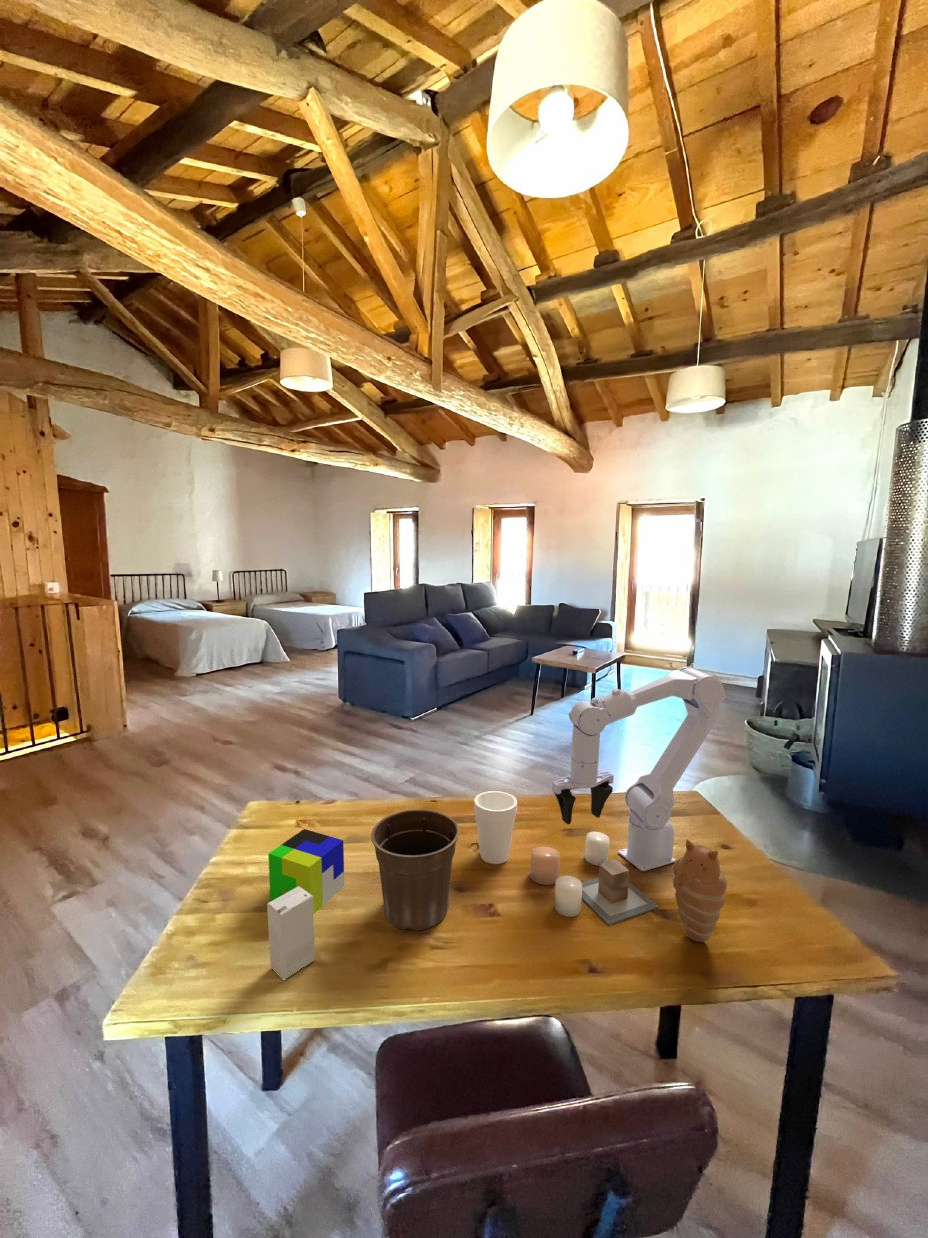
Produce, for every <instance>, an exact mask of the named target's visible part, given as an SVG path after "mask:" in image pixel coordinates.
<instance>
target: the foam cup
mask: <svg viewBox="0 0 928 1238" xmlns="http://www.w3.org/2000/svg"><path fill="white" fill-rule="evenodd" d="M473 811H474V814H475V822H476V831H477V839H478V846H479V853H480V854H479V855H480V857H481V860H483V861H484V862H486V863H488V864H492V865H499V864H503V863H506V861H508V860H509V857H510V851H511V844H512V838H513V834H514V833H513V832H514V827H515V821H516V816H517V812H518V800H517V798H516V797H515V795H512V794H511V793H509V792H505V791H499V790H498V791H497V790H489V791H485V792H481V793H479V794H478V795H476V796H475V797H474V800H473Z"/></svg>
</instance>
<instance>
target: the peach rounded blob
mask: <svg viewBox="0 0 928 1238" xmlns="http://www.w3.org/2000/svg"><path fill="white" fill-rule="evenodd" d="M560 863H561V854H560V852H559V851H558V850H557V849H555V848H553V847H549V846H542V845H541V846H536V847H534V848H532V849H531V850H530V866H529V869H530V870H529V877H530V879H531V880H532V881H533V882H534V883H537V884H539V885H541V886H550V885H551V886H552V885H555V882H556V880H557V878H559V877H560Z"/></svg>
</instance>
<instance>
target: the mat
mask: <svg viewBox="0 0 928 1238" xmlns="http://www.w3.org/2000/svg"><path fill="white" fill-rule="evenodd" d="M581 883H582V901H584V903H586V905H587V906H589V907H590V909H591V910H592V911H593V912H595V913H596V915H598V917H599V918H601V920H603V922H604V923H606V925H607V926H611V925H614V924H616V923H619V922H622V921H626V920H628V919H630V918H635V917H637V916H639V915H642V914H645V913H648V912H651V911H654V910H657V909H659V908H660V906H659V905H658V904H656V903H655V902H654V901H653V900H652V899H651V898H650V897H648V896H647V895H646V894H644V892H642V890H639V888H638V887H637V886H635V885H634V884H633V883H631V882H630V881H629V883H628V899H625V900H622V901H619V902H616V903H613V904H611V903H609V902H608V901H607V900H606V899H605V898H604V897H603V896H602V895H601V894H600V893H599V892H598V884H599V876H598V877H595V878H592V879H589V880H585V881H582V882H581Z"/></svg>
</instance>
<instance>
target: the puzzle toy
mask: <svg viewBox="0 0 928 1238" xmlns="http://www.w3.org/2000/svg"><path fill="white" fill-rule="evenodd" d="M344 851H345V850H344V839H340V838H337V837H333V836H331V835H330V836H329V835H327V834H323V833H320V832H316V831H313V830H310V829H307V828H303V829H302V830H301V831H299V832H298V833H296V834H295V835H293V836H292V837H290V838H289V839H287V840H285V842H283V843H281V844H280V845H279V846H277V847H276V848H274V849H272V850H271V851H270V852H268V853H267V855H268V875H269V876H268V877H269V897H270V899H269V900H272V901H273V900H275V899H277V898H278V897H280V896H282V895H284V894H286V893H287V892H289V891H291V890H293V889H295V888H296V887H298V886H299V887H301V888H302V889H304V890H305V891H307V892H308V893H309V894H311V895H312V896H313V914H314V915H315V913H316V912H318V911H319V910H320V909H321V908H322V907H323V906H324V905H326V903H327V902H329V900H331V899H332V898H333V897H335V895H337V893H339V891H341V890H342V889H343V888H344V887H345V857H344V855H345V854H344Z"/></svg>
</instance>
